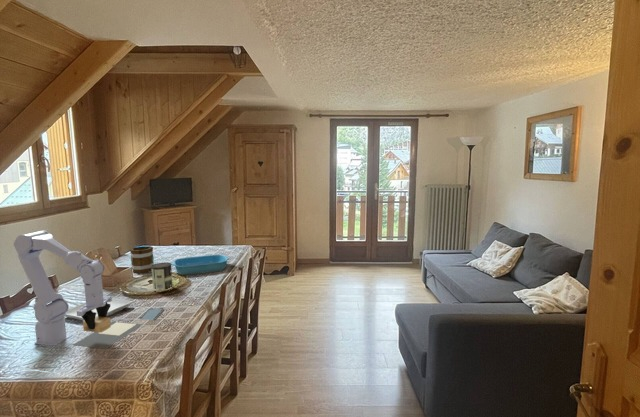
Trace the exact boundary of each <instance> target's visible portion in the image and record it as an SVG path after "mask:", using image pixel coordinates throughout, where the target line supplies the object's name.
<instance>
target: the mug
mask: <svg viewBox="0 0 640 417" xmlns="http://www.w3.org/2000/svg"><path fill="white" fill-rule="evenodd" d="M129 250H130V262H131V270H132V269H133V272H132V273H133V274H146V273H149V272H151V273H152V268H151V266H152V265H154V264H155V263H154V260H155V258H154V251H153V250H154V247H153V246H151V245H140V246H139V245H138V246H134V247H132V248H130V249H129Z"/></svg>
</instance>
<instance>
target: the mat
mask: <svg viewBox="0 0 640 417" xmlns="http://www.w3.org/2000/svg"><path fill="white" fill-rule="evenodd" d="M110 325H111V327H110V328H108V329H107V330H105V331H103V332H102V333H101V332H92V333H90V334H89V335H87V336H85V337H84V338H82V339H80V340H79V341H77V342H75V343H74V344H72V346H75V347H76V346H77V347H86V348H95V349H103V350H104V349H105V350H106V349H108V348H109V347H111V346H112V345H114V344H116V343H118V342H119V341H120V340H122V339H123V338H125V337H126V336H127V335H130V333H132V332H134V331H135V330H136V329H138V328H140V326H142V325H143V324H141V323H130V322H120V321H110Z"/></svg>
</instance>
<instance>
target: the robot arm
mask: <svg viewBox="0 0 640 417" xmlns="http://www.w3.org/2000/svg"><path fill="white" fill-rule="evenodd" d="M13 247H14V248H15V251H16V253H17V256H18V259H19V261H20V264H21V266H22V269H23V271H24V272H25V275H26V277H27V279H28V282H29V283H30V284H29V285H30V286H31V288H32V290H33V292H34V294H35V296H36V299H37V301H36V302H35V303H34V305H33V310H34V317H35V319H36V321H37V322H36V323H35V327H34V332H35V340H36V341H35V342H34V344H35V345H46V346H56V345H58V344H60V343H62V342H64V341H66V340H68V339H70V338H71V337H72V336H73V335H72V334H67V328H66V327H67V326H66V321H65V320H66V319H65V315H66V312H67V311H68V310H69V309H70V308H69V307H70V306H69V303H68V301H67V300H65V298H64V297H63V294H60V293H56V292H55V290H54V288H53V286H52V284H51V282H50V279H49V278H48V275H47V274H46V271H45V269H44V266H43V265H42V262H41V260H40V257H39V256H40V254H41V253H42V252H43V251H44V250H46V251H49V253H53V254H55V255H57V256H58V257H60V258H62V259H64V260H63V261H64V264H65V265H67V266H69V267H70V268H71V269H74V270H75V271H77V272H78V273H79V277H80V278H81V280H82V282H83V283H84V284H83V285H84V296H85V303H86V305H85V306H83V307H82V308H81V309H80V310H78V311H77V316H81V317H82V318H83V319H84V320H85V322H86V324H87V326H88V328H89V329H95V316H96V313H95V312H93V311H92V310H93V309H95V308H96V310H97V314H98V317H106V316H107V312H108V310H109V308H110V304H107V302H111V301H112V298H113V296H109V295H107V296H104V290H103V289H104V288H103V287H104V286H103V276H102V274H103V273H104V271H105V265H104V263H103V262H102V261H101V260H99V259H95V260H94V259H91V258H89V257H88V256H86V255H84V254H83V253H82V252H81V251H77V250H72V251H71V250H70V249H68V248H67V247H66V246H64V245H63V244H61V243H60V242H59V241H57V240H56V239H55V238H54V236H53V234H51V233H49V232H48V231H47V230H45V229H44V230H43V229H42V230H38V231H35V232H30V233H29V232H28V233H25V234H19V235H17V237H16V238H15V240H14V242H13ZM103 297H104V298H103ZM107 317H108V316H107ZM84 320H83V321H84Z"/></svg>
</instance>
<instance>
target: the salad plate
mask: <svg viewBox="0 0 640 417" xmlns="http://www.w3.org/2000/svg"><path fill="white" fill-rule="evenodd" d="M104 297H105V296H103V298H104ZM132 303H133V301H131V300H127V299H126V300H125V299H122V298H121V299H119V298H116V297H115V298H114V297H112V301H111V302H107V304H110V308H109V310H108V312H107V316H106V317H110V316H111V315H113V314H116V313H119V312H120V311H122V310H124V309H126V308H128V307H129V306H131V304H132ZM85 305H86V302H84V303H81V304H78V305H76V306H74V307H72V308H68V311H67V312H66V315H65V316H64V317H66V318H70V319H75V320H79V321H84V319H83V318H82V317H81V316H77V311H78V310H80V309H81V308H82V307H83V306H85ZM92 311H93V312H95V313H96V316H98V314H97V310H96V308H95V309H93V310H92Z"/></svg>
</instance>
